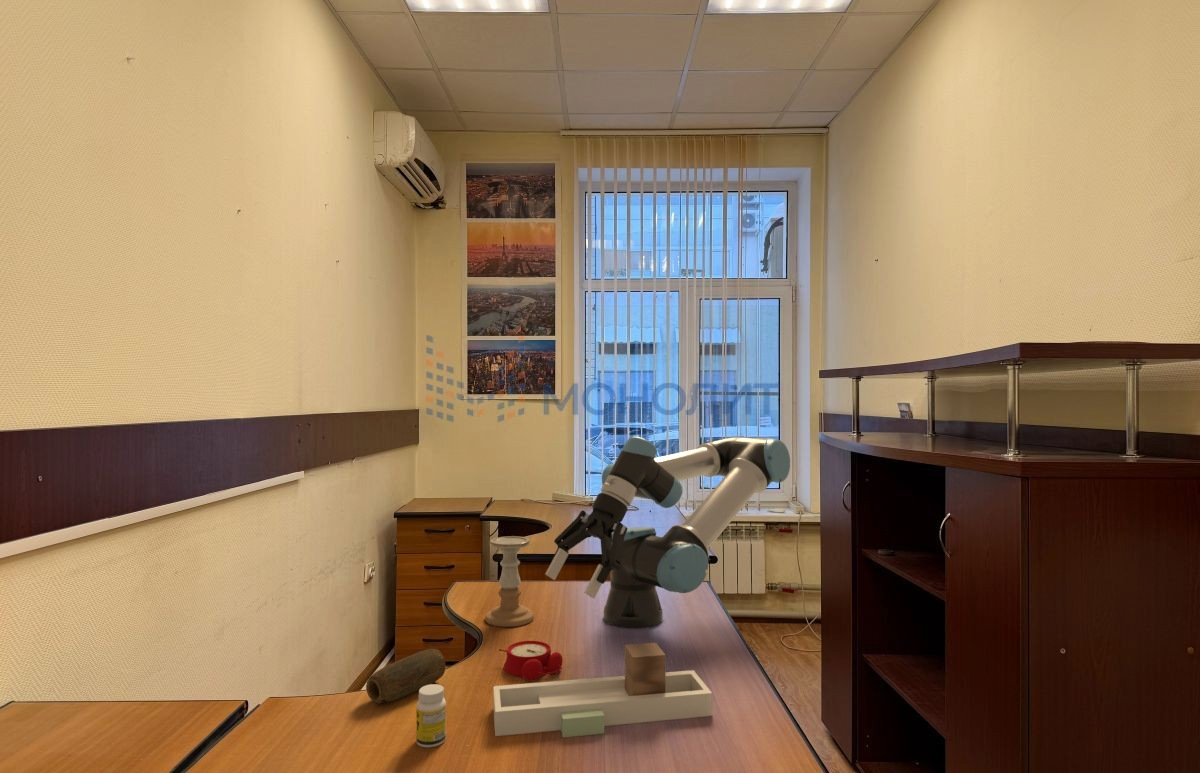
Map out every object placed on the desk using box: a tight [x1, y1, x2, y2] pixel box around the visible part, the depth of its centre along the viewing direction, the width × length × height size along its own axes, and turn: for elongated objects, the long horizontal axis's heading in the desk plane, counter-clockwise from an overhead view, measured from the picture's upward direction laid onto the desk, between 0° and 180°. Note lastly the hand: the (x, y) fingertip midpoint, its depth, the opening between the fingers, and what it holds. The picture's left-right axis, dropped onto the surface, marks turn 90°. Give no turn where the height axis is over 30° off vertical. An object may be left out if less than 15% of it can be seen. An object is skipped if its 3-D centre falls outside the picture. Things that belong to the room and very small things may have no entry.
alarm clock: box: [498, 640, 563, 682], centre depth 135 cm, size 10×6×15 cm
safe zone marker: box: [551, 677, 605, 738], centre depth 116 cm, size 7×15×3 cm, turn 11°
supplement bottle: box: [415, 683, 447, 748], centre depth 107 cm, size 5×5×8 cm
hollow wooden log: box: [365, 648, 446, 704], centre depth 125 cm, size 15×7×7 cm, turn 147°
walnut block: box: [624, 642, 666, 696], centre depth 119 cm, size 6×6×8 cm
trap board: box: [492, 669, 713, 737], centre depth 117 cm, size 38×10×4 cm, turn 101°
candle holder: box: [484, 535, 535, 628], centre depth 167 cm, size 12×12×20 cm
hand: (568, 586), depth 140 cm, fingers open, 13 cm apart
